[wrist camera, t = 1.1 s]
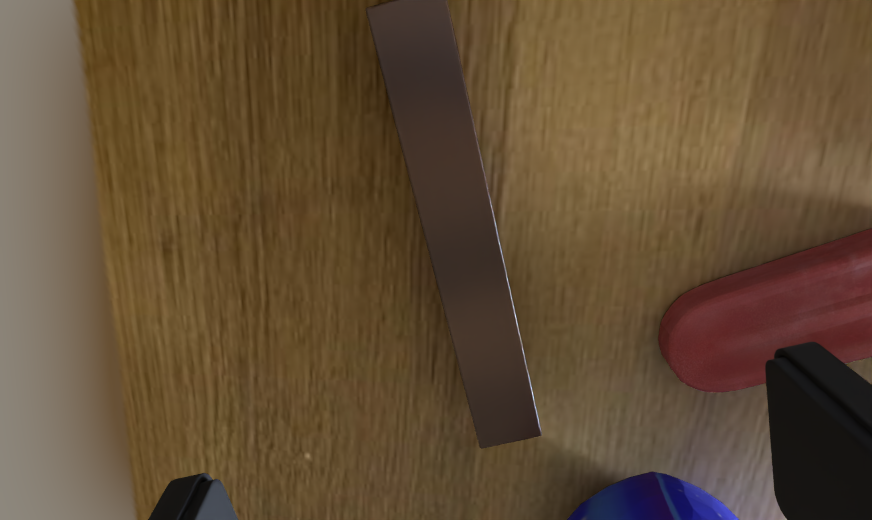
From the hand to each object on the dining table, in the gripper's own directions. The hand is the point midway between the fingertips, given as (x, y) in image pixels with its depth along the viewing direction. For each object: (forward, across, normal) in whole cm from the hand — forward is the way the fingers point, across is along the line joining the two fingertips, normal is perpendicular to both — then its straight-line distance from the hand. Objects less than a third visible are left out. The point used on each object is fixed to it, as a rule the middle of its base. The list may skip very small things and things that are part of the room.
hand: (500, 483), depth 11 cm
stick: (+14, 0, 0) cm, 14 cm away
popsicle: (+14, -14, +6) cm, 21 cm away
